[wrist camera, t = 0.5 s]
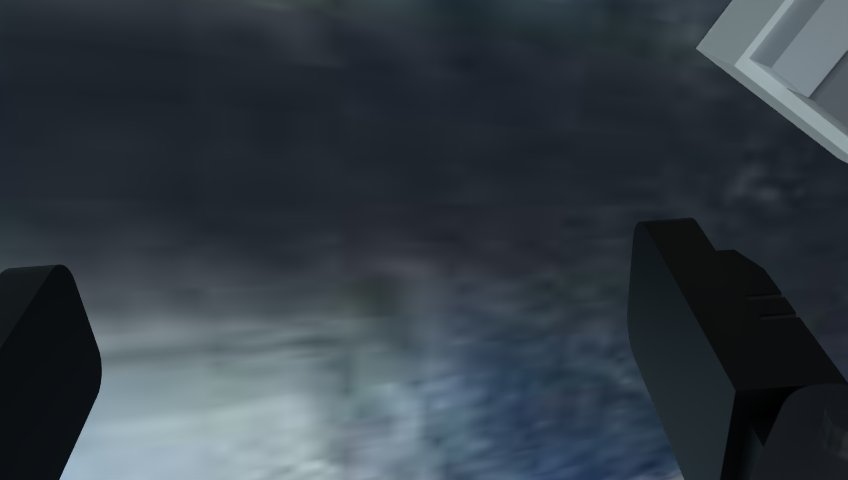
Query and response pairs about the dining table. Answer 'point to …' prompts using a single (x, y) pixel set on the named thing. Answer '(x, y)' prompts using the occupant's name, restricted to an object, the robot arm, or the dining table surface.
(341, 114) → the dining table surface
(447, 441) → the dining table surface
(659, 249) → the robot arm
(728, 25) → the base
